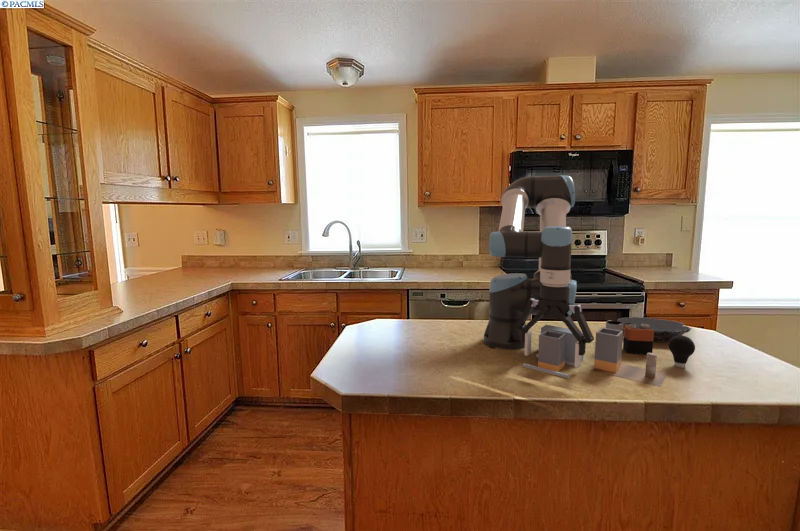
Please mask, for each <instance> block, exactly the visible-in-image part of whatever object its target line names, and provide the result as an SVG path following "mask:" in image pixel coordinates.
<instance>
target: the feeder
mask: <svg viewBox="0 0 800 531" xmlns="http://www.w3.org/2000/svg"><path fill="white" fill-rule="evenodd" d="M546 330H547V331H553V332H558V333H563V334H566V348H565V365H568V366H572V367H574V365H575V345H576V343H577V342H578V341H577V339H576V338H575V336H574V335H573V334H572V332H571V331H570V330H569V328H568V327H560V326H555V325H550V324H545V325H543V326H542V327H541V328H540V334H542V333H543V332H545V331H546ZM580 331H581V332H582V330H580ZM582 334H583V333H582ZM584 355H585V354H584ZM584 355H583V356H582V355H581V363H583V362H584ZM535 358H538V353H536V355H535ZM580 366H581V365H580ZM580 366H579V367H578V368H580ZM522 367H524V368H526V369H530V370H534V371H537V372H542V373H545V374H550V375H554V376H556V377H557V376H558V377H561V378H565V379H569V378H570V374H568V373H565V372H560V371H559V372H557V371H553V370H549V369H545V368H541V367H538V365H537V366H536V365H532V364H528V363H525V362H524V363H522Z"/></svg>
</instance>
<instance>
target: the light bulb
mask: <svg viewBox="0 0 800 531" xmlns="http://www.w3.org/2000/svg"><path fill="white" fill-rule="evenodd" d="M694 342H695V341H693V340H692V339H691V338H690V337H688V336H687V335H679V336H675V337H673V338H672V339H671V340H670V341H668V350H669V351H670V353H671V354H672V356H673V362H674V363H673V364H674V366H675V367H677V368H682V369H683V368H685V367H686V365H687V362H688V360H689V357H691V356H692V355H693V354H694V352H695V350H696V346H695V343H694Z"/></svg>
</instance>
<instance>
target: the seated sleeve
mask: <svg viewBox="0 0 800 531" xmlns="http://www.w3.org/2000/svg"><path fill="white" fill-rule="evenodd" d="M623 341H624V330H623V331H619V330H613V329H607V328H606V327H600V328H599V329H598V330H596V331H595V344H594V358H593V359H594V361H593V367H594V368H598V369H602V370H607V371H611V372H615V373H616V372H617V371H618V369H619V368H620V367H621V364H622V353H623V352H622V351H623Z"/></svg>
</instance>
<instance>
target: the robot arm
mask: <svg viewBox="0 0 800 531" xmlns="http://www.w3.org/2000/svg"><path fill="white" fill-rule="evenodd" d="M575 203H576V190H575V182H574V180H573V178H572V177H571V176H570V175H564V174H563V175H562V174H557V175H542V176H541V175H538V176H536V175H535V176H531V175H530V176H524V177H521V178H518V179H516V180H515V181H513V182H511V184H508V186H507V187H506V188H505V190H504V191H503V193H502V195H501V199H500V204H501V207H502V209H501V216H500V220H499V225H498V226H499V227H498V231H492V232H490V234H489V238H488V239H489V240H488V250H489V252H488V253H489V255H491V256H492V257H501V258H538V270H537V271H536V272H534V274H533V278H528V276H527V274H526V273H520V272H519V273H518V272H515V273H513V272H512V273H506V274H505V273H504V274H500V275H496V276H494V277H492V278H491V279H490V282H489V289H488V292H489V310H488V311H489V312H488V322H487V325H486V328H485V331H484V334H483V343H484V344H485V345H486V346H487V347H490V348H493V349H502V350H520V349H524V356H526V357H527V356H529V355H530V354H532V334H533V332H532V331H530V329H532V328H533V327H534V325H535V324H537V323H538V322H539V321H540V320H541V319H542V318H543V317H546V319H554V320H560V321H562V323H564V325H565V326H566V328H567V329H569V330H570V331H571V332H572V334H573V335H574V336H575V338H576V339H577V341H578V342H577V343H576V345H575V365H574V366H573V367H574V368H577V369H579V368H580V367H579V366H581V364H582V362H581V355H582V356H583V355H585V354H586V344H591V343H592V342H593V341H594V339H595V337H594V335H593V333H592V331H591V328H590V327H589V324H588V322H587V320H586V318H585V316H584V314H583V305H582V304H580V303H579V304H576V305H575V301H576V295H577V287H578V284H577V283H578V281H577V280H575V279H573V278H572V273H571V261H572V250H573V249H572V245H573V240H574V238H573V230H572V228H571V227H570V226H567V214H568V213H570V210H571V208H573V207H574V206H575ZM526 209H535V212H536V213H537V215H539V231H524V227H525V225H524V224H525V216H526V213H525V212H526ZM572 313H573V314H574V317H575V319H576V321H577V324H578V326H579V327H578V326H577V325H576V323H575V322H574V321H573V319H572V317H571V315H572ZM530 315H533V316H534V317H533V318H532V319H530V321H528V322H527V320H528V318H529V316H530ZM526 322H527V323H526ZM581 331H582V332H581ZM582 333H583V334H582Z"/></svg>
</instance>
